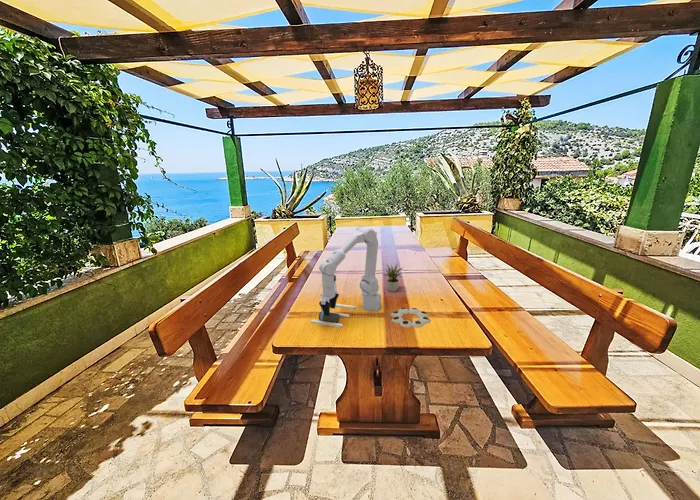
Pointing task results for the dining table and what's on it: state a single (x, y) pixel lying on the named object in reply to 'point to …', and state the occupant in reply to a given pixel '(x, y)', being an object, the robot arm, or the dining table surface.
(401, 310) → the paint palette
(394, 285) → the house plant
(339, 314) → the cream cylinder cradle
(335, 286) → the jar
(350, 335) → the dining table surface
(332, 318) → the banded tin can
